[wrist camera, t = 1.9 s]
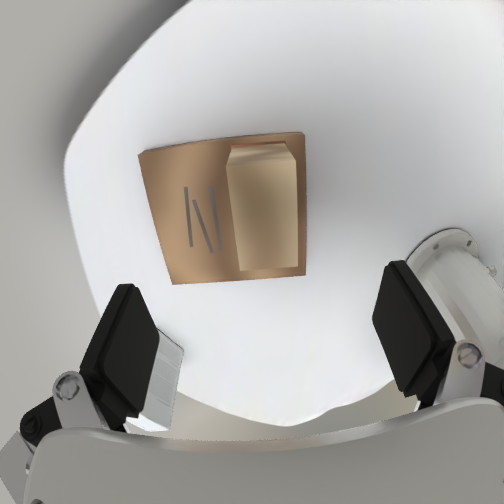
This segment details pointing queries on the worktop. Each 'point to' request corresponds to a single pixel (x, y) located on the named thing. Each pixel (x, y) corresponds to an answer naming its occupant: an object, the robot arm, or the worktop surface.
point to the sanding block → (264, 204)
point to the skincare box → (161, 388)
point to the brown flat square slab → (209, 208)
